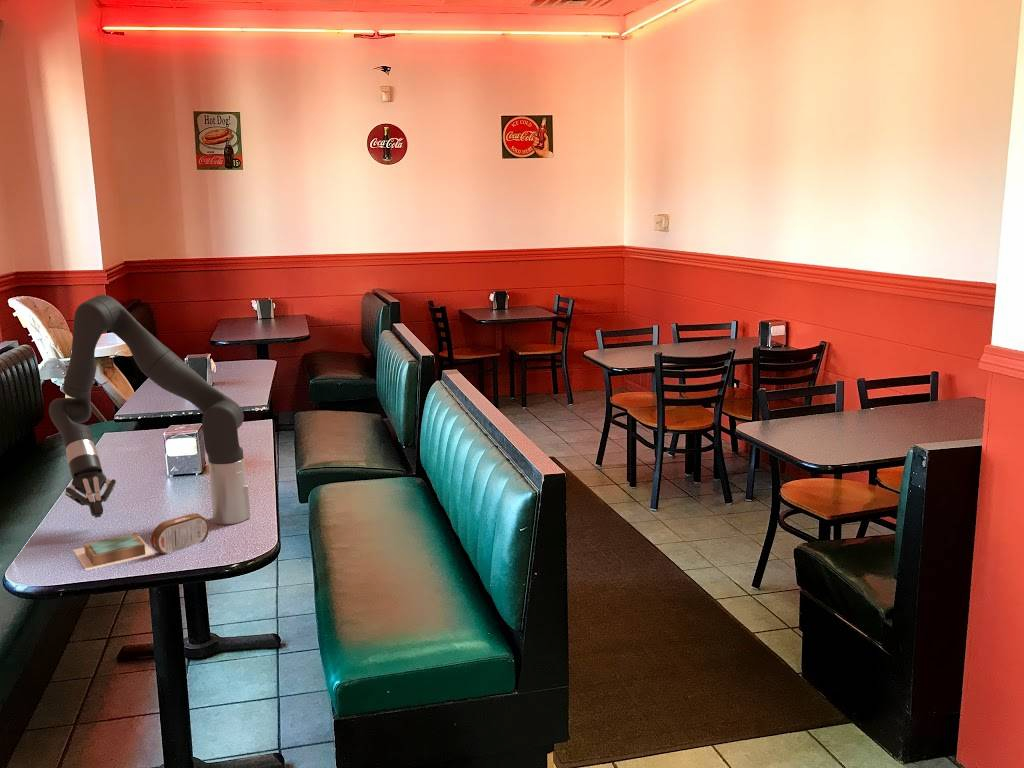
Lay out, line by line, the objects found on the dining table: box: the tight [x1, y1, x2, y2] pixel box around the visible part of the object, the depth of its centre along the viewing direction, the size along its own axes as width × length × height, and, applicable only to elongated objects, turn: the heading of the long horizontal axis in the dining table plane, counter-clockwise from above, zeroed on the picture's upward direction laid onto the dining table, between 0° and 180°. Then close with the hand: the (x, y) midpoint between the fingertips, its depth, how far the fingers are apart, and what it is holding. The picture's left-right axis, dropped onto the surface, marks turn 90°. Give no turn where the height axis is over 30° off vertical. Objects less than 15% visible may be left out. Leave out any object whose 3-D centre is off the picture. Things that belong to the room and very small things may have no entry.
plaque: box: [83, 532, 145, 566], centre depth 222 cm, size 12×3×10 cm
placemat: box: [72, 535, 156, 571], centre depth 224 cm, size 16×16×1 cm
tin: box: [150, 512, 210, 555], centre depth 226 cm, size 15×3×8 cm, turn 141°
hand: (98, 515), depth 234 cm, fingers closed
